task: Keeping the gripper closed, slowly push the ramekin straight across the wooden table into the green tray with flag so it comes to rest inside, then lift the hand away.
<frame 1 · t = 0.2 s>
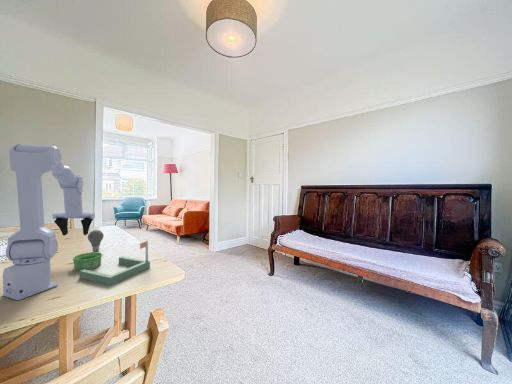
hand: (75, 234, 94), 10 cm above the table, tool pointing down, fingers open, 7 cm apart
green tray with flag: (115, 272, 80), on the table
light bulb: (95, 251, 103), on the table
ramekin: (88, 267, 84), on the table
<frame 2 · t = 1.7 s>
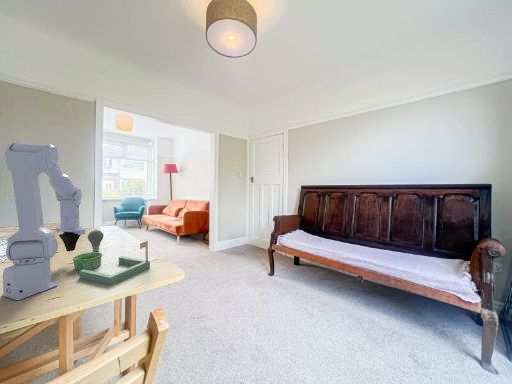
hand: (70, 250, 88), 5 cm above the table, tool pointing down, fingers closed
nothing on the table moved.
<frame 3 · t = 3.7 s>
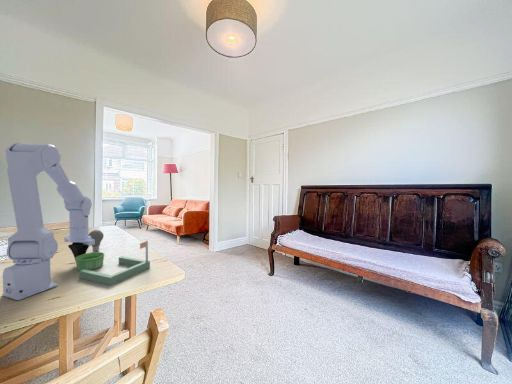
hand: (79, 261, 86), 1 cm above the table, tool pointing down, fingers closed
ramekin: (90, 267, 84), on the table, touching gripper
everything else where it was.
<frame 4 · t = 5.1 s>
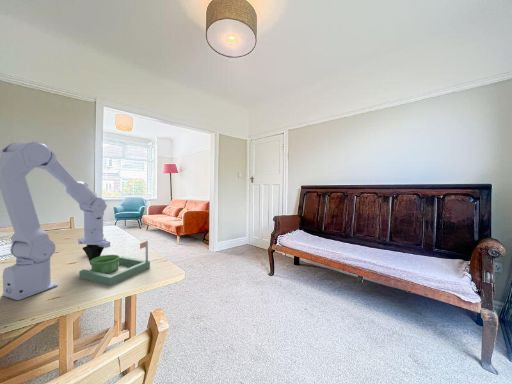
hand: (94, 264, 83), 1 cm above the table, tool pointing down, fingers closed
ramekin: (105, 270, 81), on the table, touching gripper
everything else where it was.
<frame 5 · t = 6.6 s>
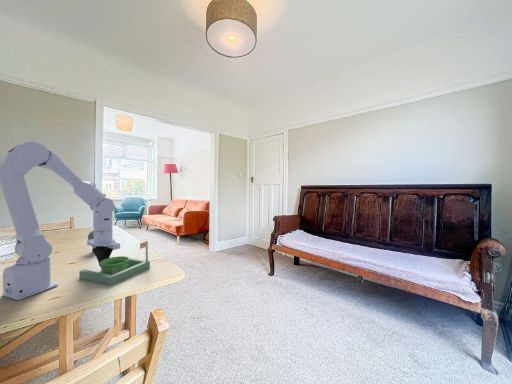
hand: (103, 266, 82), 1 cm above the table, tool pointing down, fingers closed
ramekin: (115, 272, 80), on the table, touching gripper
everything else where it was.
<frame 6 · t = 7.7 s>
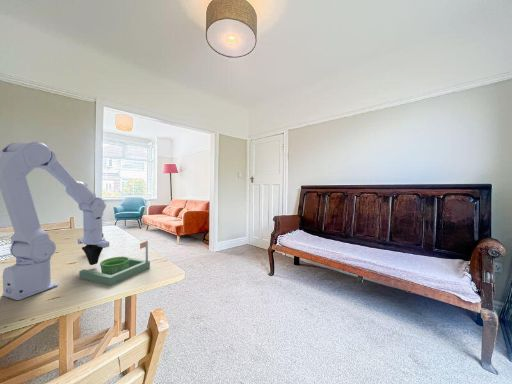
hand: (93, 264, 83), 1 cm above the table, tool pointing down, fingers closed
ramekin: (115, 273, 80), on the table
everything else where it was.
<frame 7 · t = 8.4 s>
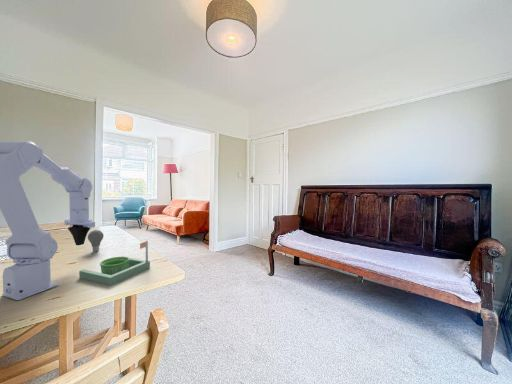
hand: (79, 244, 84), 9 cm above the table, tool pointing down, fingers closed
nothing on the table moved.
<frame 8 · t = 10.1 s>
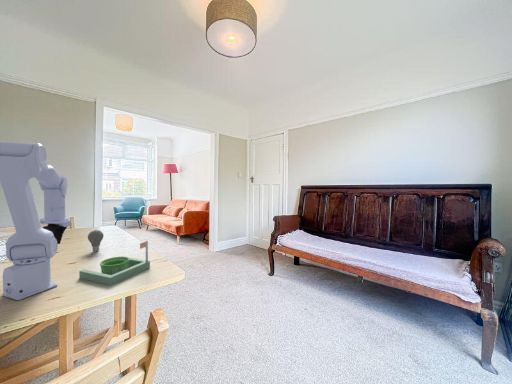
hand: (55, 244, 81), 9 cm above the table, tool pointing down, fingers closed
nothing on the table moved.
at the end: ramekin 0.2 cm off-centre on the green tray with flag, point 0.0 cm above the green tray with flag's base; ramekin tilted 0°; ramekin moved 14.4 cm from its start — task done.
